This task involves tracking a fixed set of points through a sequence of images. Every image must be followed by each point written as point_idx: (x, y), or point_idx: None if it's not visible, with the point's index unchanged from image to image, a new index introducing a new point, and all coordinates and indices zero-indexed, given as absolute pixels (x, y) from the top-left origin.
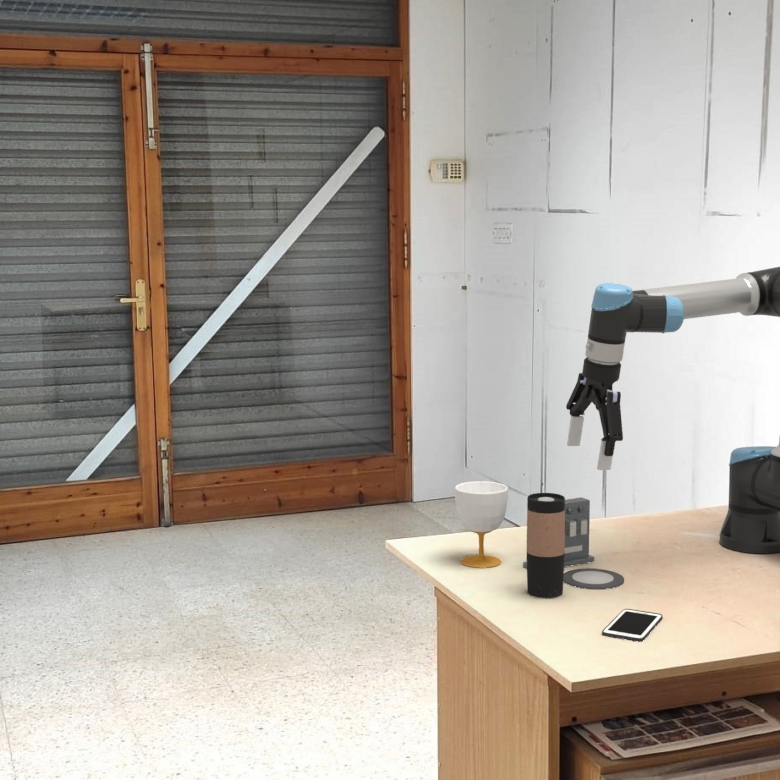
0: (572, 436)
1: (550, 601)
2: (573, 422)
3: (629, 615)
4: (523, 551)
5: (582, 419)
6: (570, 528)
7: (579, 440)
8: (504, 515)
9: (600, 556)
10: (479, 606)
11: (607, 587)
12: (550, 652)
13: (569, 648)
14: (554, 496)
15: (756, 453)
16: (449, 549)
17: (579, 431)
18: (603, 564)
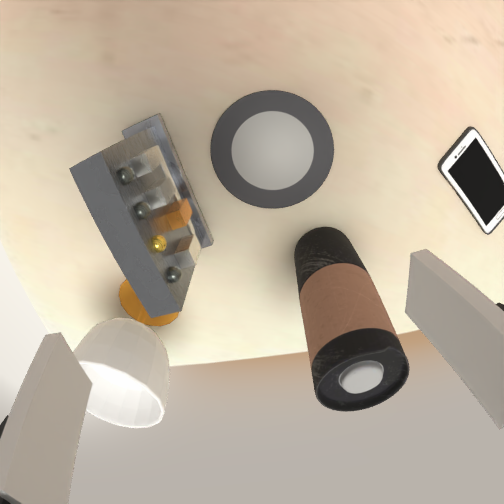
0: (74, 415)
1: (362, 256)
2: (61, 495)
3: (462, 174)
4: (91, 226)
5: (13, 479)
6: (170, 197)
7: (54, 360)
8: (132, 329)
9: (126, 92)
10: None
11: (333, 144)
12: (489, 297)
13: (492, 278)
14: (338, 360)
15: None
16: (92, 321)
17: (42, 411)
18: (178, 99)
